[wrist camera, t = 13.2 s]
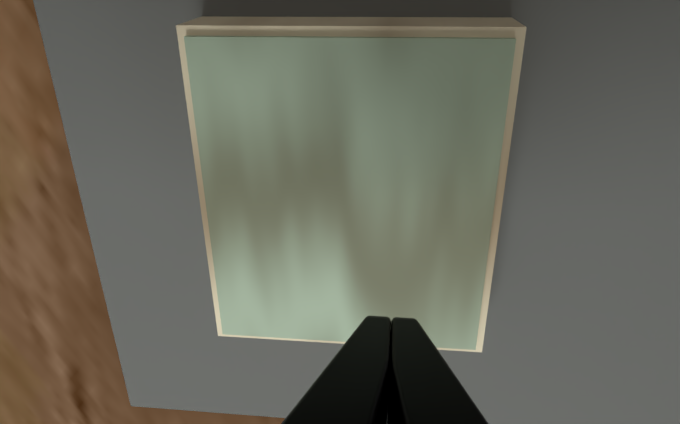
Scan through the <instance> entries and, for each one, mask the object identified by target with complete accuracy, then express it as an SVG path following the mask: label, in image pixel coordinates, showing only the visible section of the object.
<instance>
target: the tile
mask: <svg viewBox="0 0 680 424" xmlns="http://www.w3.org/2000/svg"><path fill="white" fill-rule="evenodd" d="M526 28H527V27H526V26H524V25H523V24H521V23H520V22H518V21H516V20H515V19H513V18H512V17H220V16H202V17H199V18H196V19H193V20H190V21H187V22H184V23H181V24H178V25H176V30H177V37H178V45H179V52H180V59H181V67H182V74H183V82H184V89H185V96H186V104H187V111H188V118H189V126H190V133H191V141H192V148H193V155H194V163H195V170H196V177H197V185H198V192H199V199H200V207H201V214H202V222H203V229H204V236H205V244H206V251H207V258H208V266H209V273H210V281H211V288H212V295H213V303H214V310H215V317H216V325H217V332H218V336H227V337H243V338H259V339H275V340H291V341H307V342H323V343H339V344H345V342H346V341H347V340H348V339H349V337H350V336H351V335H352V334H353V332H354V331H355V330H356V329H357V327H358V326H359V325H360V323H361V322H362V321H363V320H364V318H365V317H367V316H386V317H389V318H390V319H391V321H392V319H393V318H394V317H403V318H415V319H416V320H417V321H418V322H419V323H420V325H421V326H422V328H423V329H424V331H425V332H426V334H427V335H428V336H429V338H430V339H431V341H432V342H433V344H434V345H435V347H436V348H437V350H452V351H468V352H482V348H483V341H484V334H485V326H486V319H487V312H488V305H489V297H490V290H491V283H492V276H493V268H494V261H495V254H496V246H497V239H498V232H499V225H500V217H501V210H502V203H503V195H504V188H505V181H506V174H507V166H508V159H509V152H510V145H511V137H512V130H513V123H514V115H515V108H516V101H517V94H518V86H519V79H520V72H521V65H522V57H523V50H524V43H525V35H526Z"/></svg>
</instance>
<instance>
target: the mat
mask: <svg viewBox="0 0 680 424" xmlns="http://www.w3.org/2000/svg"><path fill="white" fill-rule="evenodd" d="M33 2H34V6H35V10H36V14H37V18H38V22H39V27H40V31H41V35H42V39H43V43H44V47H45V51H46V56H47V60H48V64H49V68H50V72H51V76H52V81H53V85H54V89H55V93H56V97H57V101H58V105H59V110H60V114H61V118H62V122H63V126H64V130H65V134H66V139H67V143H68V147H69V151H70V155H71V159H72V164H73V168H74V172H75V176H76V180H77V184H78V188H79V193H80V197H81V201H82V205H83V209H84V213H85V217H86V222H87V226H88V230H89V234H90V238H91V242H92V247H93V251H94V255H95V259H96V263H97V267H98V271H99V276H100V280H101V284H102V288H103V292H104V296H105V300H106V305H107V309H108V313H109V317H110V321H111V325H112V330H113V334H114V338H115V342H116V346H117V350H118V354H119V359H120V363H121V367H122V371H123V375H124V379H125V383H126V388H127V392H128V396H129V400H130V404H131V406H137V407H150V408H163V409H176V410H189V411H202V412H215V413H228V414H241V415H254V416H267V417H280V418H286V417H287V416H288V415H289V413H290V412H291V411H292V410H293V408H294V407H295V406H296V404H297V403H298V402H299V401H300V399H301V398H302V397H303V396H304V394H305V393H306V392H307V391H308V389H309V388H310V387H311V385H312V384H313V383H314V382H315V380H316V379H317V378H318V377H319V375H320V374H321V373H322V372H323V370H324V369H325V368H326V367H327V365H328V364H329V363H330V361H331V360H332V359H333V358H334V356H335V355H336V354H337V353H338V351H339V350H340V349H341V348H342V346H343V345H344V344H339V343H323V342H307V341H291V340H275V339H259V338H243V337H227V336H218V332H217V325H216V317H215V310H214V303H213V295H212V288H211V281H210V273H209V266H208V258H207V251H206V244H205V236H204V229H203V222H202V214H201V207H200V199H199V192H198V185H197V177H196V170H195V163H194V155H193V148H192V141H191V133H190V126H189V118H188V111H187V104H186V96H185V89H184V82H183V74H182V67H181V59H180V52H179V45H178V37H177V30H176V25H178V24H181V23H184V22H187V21H190V20H193V19H196V18H199V17H202V16H220V17H512V18H513V19H515V20H516V21H518V22H520V23H521V24H523V25H524V26H526V27H527V28H526V35H525V43H524V50H523V57H522V65H521V72H520V79H519V86H518V94H517V101H516V108H515V115H514V123H513V130H512V137H511V145H510V152H509V159H508V166H507V174H506V181H505V188H504V195H503V203H502V210H501V217H500V225H499V232H498V239H497V246H496V254H495V261H494V268H493V276H492V283H491V290H490V297H489V305H488V312H487V319H486V326H485V334H484V341H483V348H482V352H468V351H452V350H438V351H439V352H440V354H441V355H442V357H443V358H444V360H445V361H446V363H447V364H448V365H449V367H450V368H451V370H452V371H453V373H454V374H455V376H456V377H457V379H458V380H459V381H460V383H461V384H462V386H463V387H464V389H465V390H466V392H467V393H468V395H469V396H470V397H471V399H472V400H473V402H474V403H475V405H476V406H477V408H478V409H479V410H480V412H481V413H482V415H483V416H484V418H485V419H486V421H487V422H488V424H680V0H33Z"/></svg>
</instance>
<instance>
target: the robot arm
mask: <svg viewBox="0 0 680 424" xmlns="http://www.w3.org/2000/svg"><path fill="white" fill-rule="evenodd" d="M281 424H488V422H487V421H486V419H485V418H484V416H483V415H482V413H481V412H480V410H479V409H478V408H477V406H476V405H475V403H474V402H473V400H472V399H471V397H470V396H469V395H468V393H467V392H466V390H465V389H464V387H463V386H462V384H461V383H460V381H459V380H458V379H457V377H456V376H455V374H454V373H453V371H452V370H451V368H450V367H449V365H448V364H447V363H446V361H445V360H444V358H443V357H442V355H441V354H440V352H439V351H438V350H437V348H436V347H435V345H434V344H433V342H432V341H431V339H430V338H429V336H428V335H427V334H426V332H425V331H424V329H423V328H422V326H421V325H420V323H419V322H418V321H417V320H416V319H415V318H403V317H394V318H393V319H392V321H391V319H390V318H389V317H386V316H367V317H365V318H364V320H363V321H362V322H361V323H360V325H359V326H358V327H357V329H356V330H355V331H354V332H353V334H352V335H351V336H350V337H349V339H348V340H347V341H346V342H345V344H344V345H343V346H342V348H341V349H340V350H339V351H338V353H337V354H336V355H335V356H334V358H333V359H332V360H331V361H330V363H329V364H328V365H327V367H326V368H325V369H324V370H323V372H322V373H321V374H320V375H319V377H318V378H317V379H316V380H315V382H314V383H313V384H312V385H311V387H310V388H309V389H308V391H307V392H306V393H305V394H304V396H303V397H302V398H301V399H300V401H299V402H298V403H297V404H296V406H295V407H294V408H293V410H292V411H291V412H290V413H289V415H288V416H287V417H286V418H285V420H284V421H283V422H282V423H281Z"/></svg>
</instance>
